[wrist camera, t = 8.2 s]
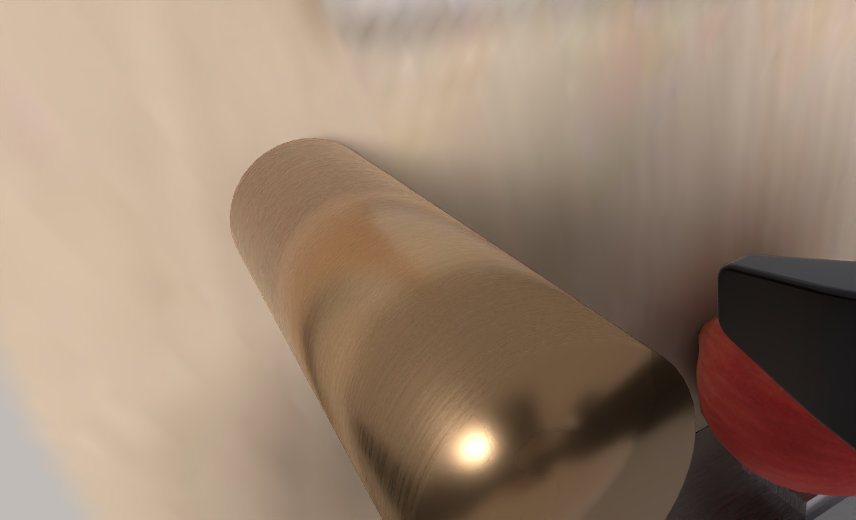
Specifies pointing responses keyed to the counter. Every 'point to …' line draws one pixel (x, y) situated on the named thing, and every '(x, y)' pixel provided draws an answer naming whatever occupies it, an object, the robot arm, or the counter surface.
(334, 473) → the counter surface
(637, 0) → the counter surface
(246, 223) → the lever
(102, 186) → the counter surface
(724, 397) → the onion
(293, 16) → the counter surface
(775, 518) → the base
